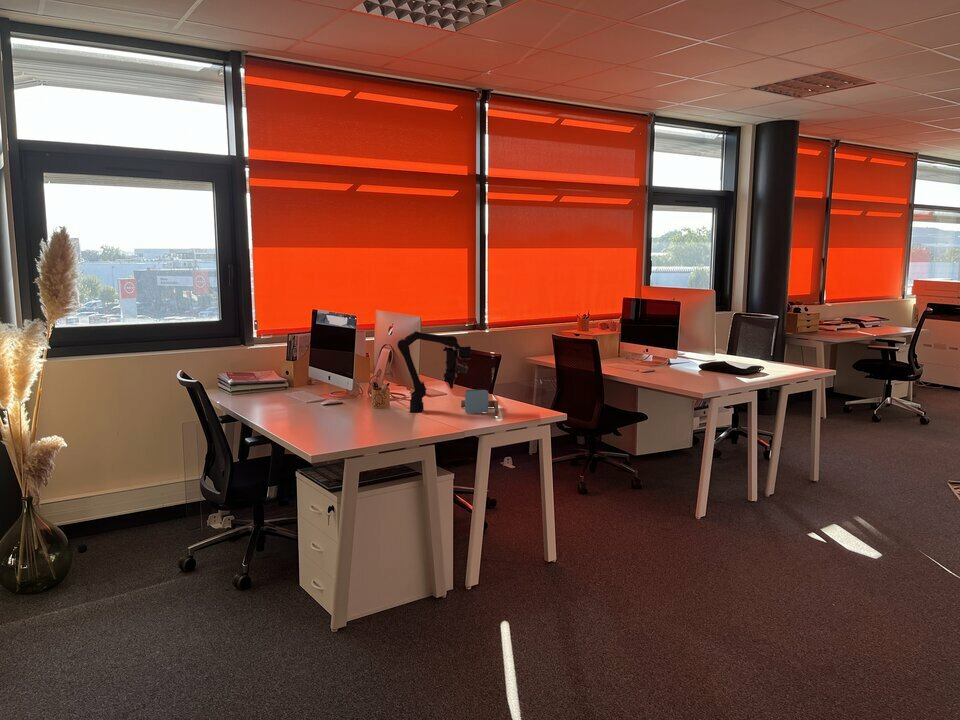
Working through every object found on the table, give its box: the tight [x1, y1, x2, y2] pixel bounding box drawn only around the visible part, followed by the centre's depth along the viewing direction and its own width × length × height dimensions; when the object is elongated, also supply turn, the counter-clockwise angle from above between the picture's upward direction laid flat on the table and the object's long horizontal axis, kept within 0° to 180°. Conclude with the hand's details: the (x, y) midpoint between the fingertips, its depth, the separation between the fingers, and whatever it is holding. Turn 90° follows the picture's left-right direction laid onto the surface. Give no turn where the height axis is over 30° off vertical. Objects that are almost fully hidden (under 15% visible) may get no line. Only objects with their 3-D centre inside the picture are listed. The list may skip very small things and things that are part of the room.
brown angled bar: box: [460, 399, 499, 417], centre depth 366 cm, size 20×25×4 cm
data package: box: [464, 389, 489, 414], centre depth 364 cm, size 12×4×12 cm, turn 90°
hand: (451, 388), depth 368 cm, fingers closed
